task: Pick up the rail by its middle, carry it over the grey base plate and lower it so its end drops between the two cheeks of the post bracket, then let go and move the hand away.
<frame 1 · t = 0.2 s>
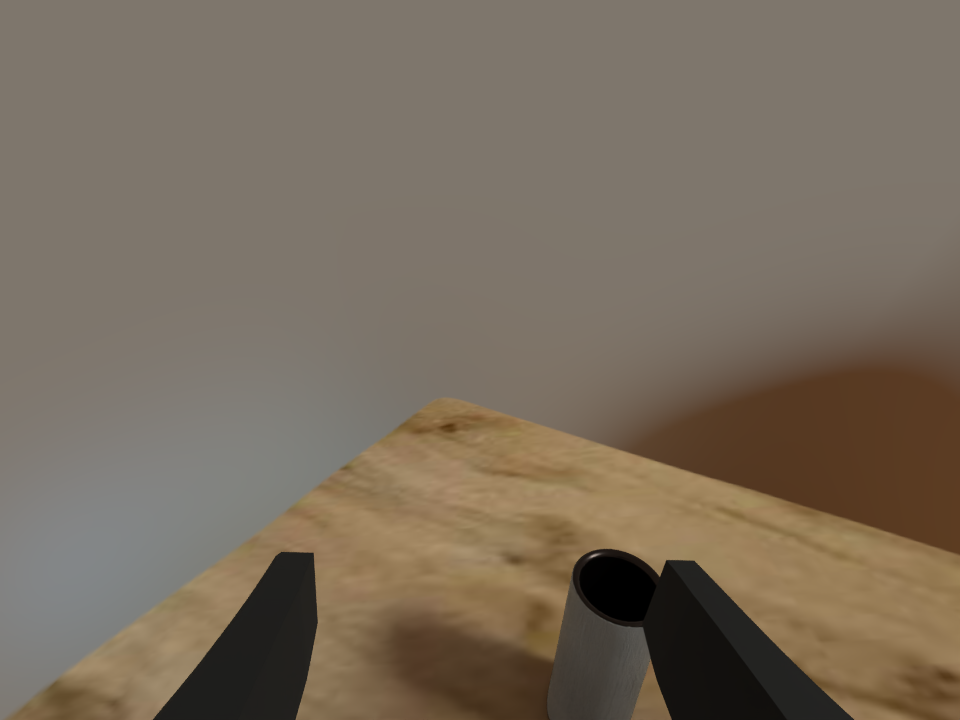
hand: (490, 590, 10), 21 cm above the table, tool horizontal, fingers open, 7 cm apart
planter: (585, 714, 29), on the table
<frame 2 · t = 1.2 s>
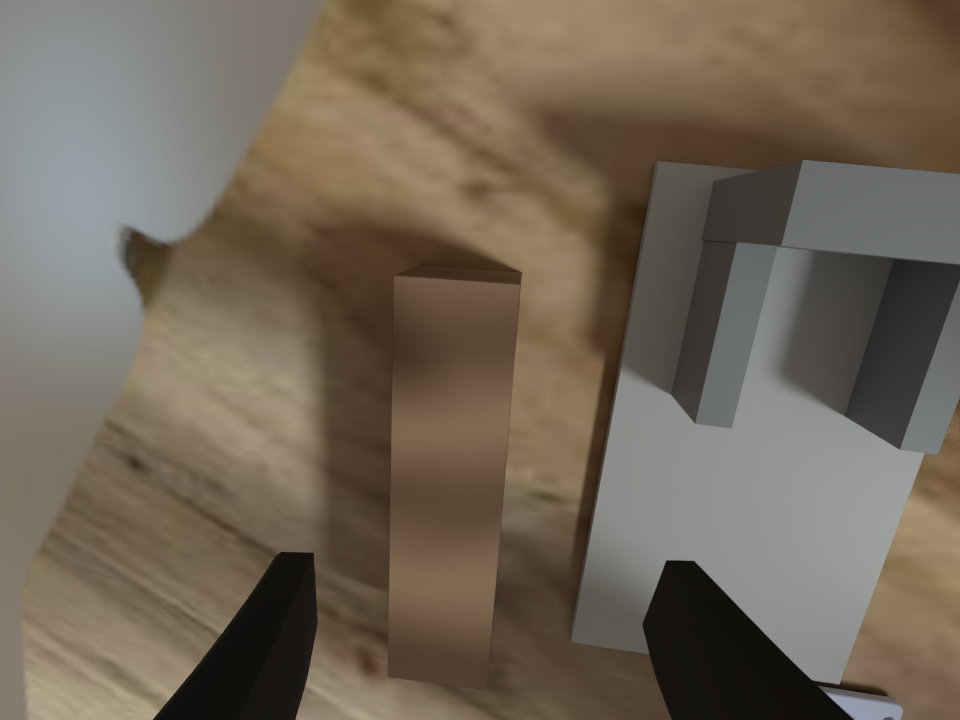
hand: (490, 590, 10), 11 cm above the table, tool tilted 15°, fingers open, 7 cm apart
post bracket: (754, 448, 21), on the table
rail: (461, 451, 22), on the table
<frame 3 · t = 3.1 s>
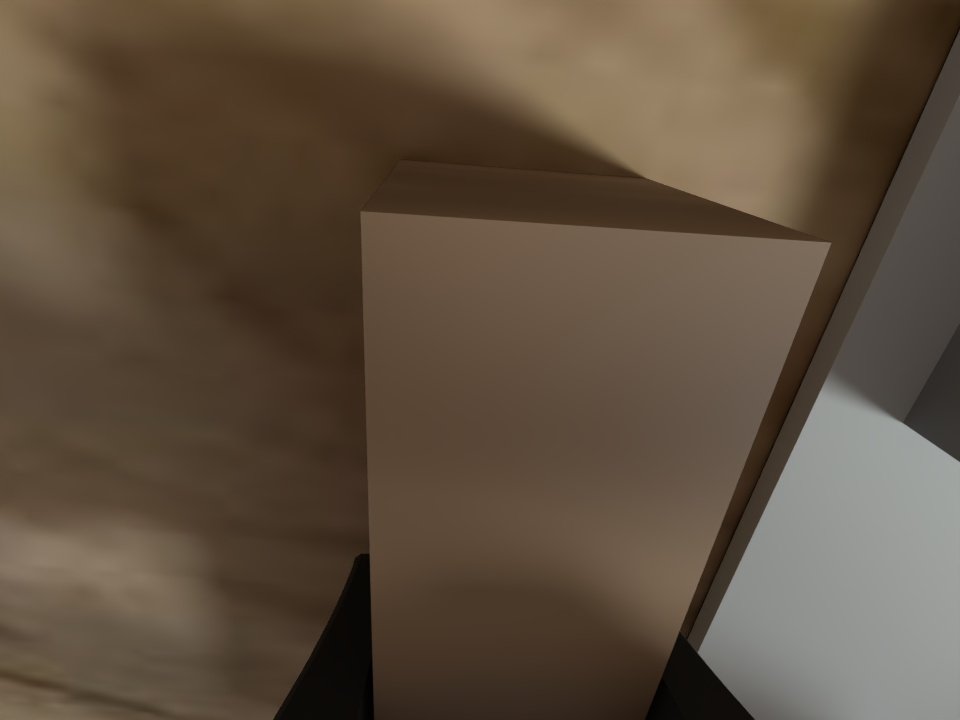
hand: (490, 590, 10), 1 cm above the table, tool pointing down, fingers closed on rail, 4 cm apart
rail: (484, 532, 12), on the table, touching gripper
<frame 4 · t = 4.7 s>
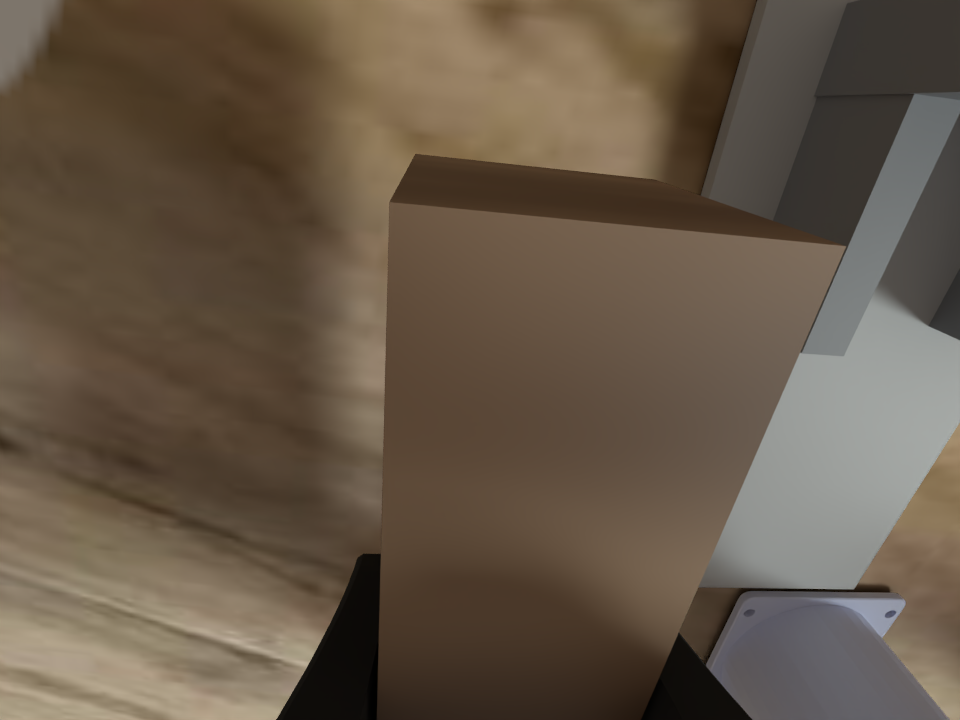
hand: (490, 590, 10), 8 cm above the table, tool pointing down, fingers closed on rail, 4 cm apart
post bracket: (817, 367, 17), on the table
rail: (484, 528, 12), point 6 cm above the table, touching gripper
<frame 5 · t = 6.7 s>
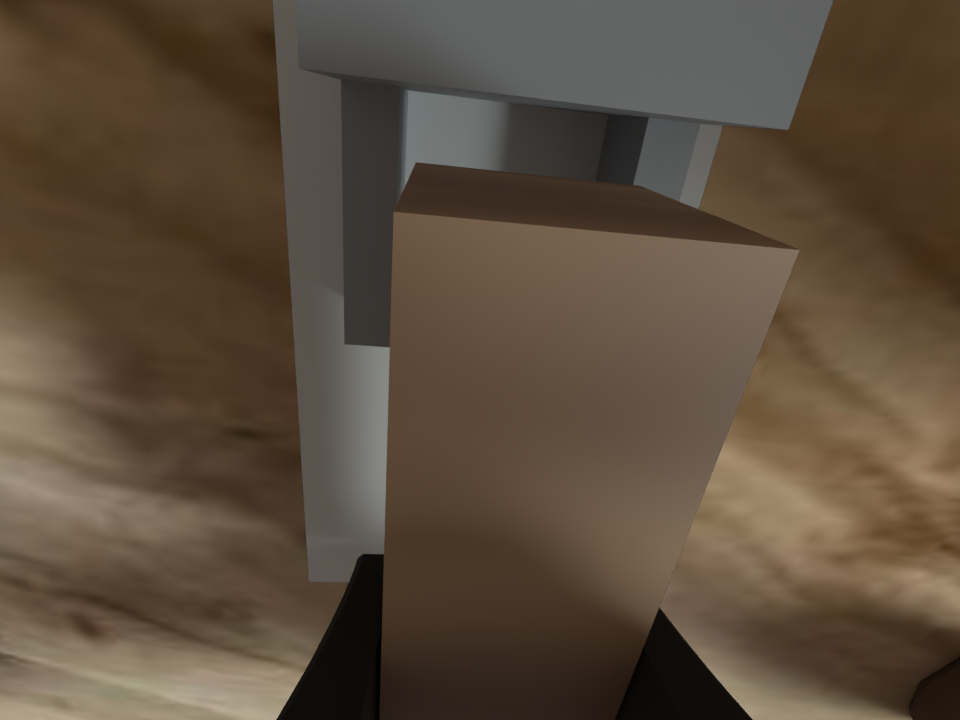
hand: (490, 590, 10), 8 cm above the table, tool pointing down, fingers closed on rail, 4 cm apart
post bracket: (477, 361, 17), on the table
rail: (482, 517, 12), point 6 cm above the table, touching gripper
when the fingers open (3 cm above the table, at t = 9.5 s): rail stays where it is, resting on post bracket.
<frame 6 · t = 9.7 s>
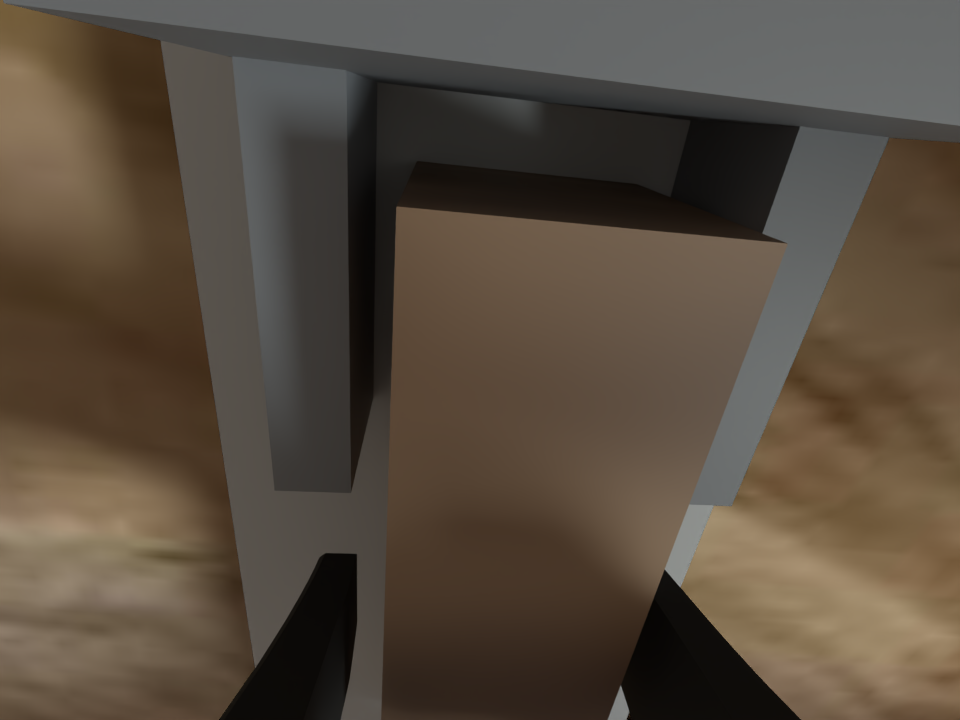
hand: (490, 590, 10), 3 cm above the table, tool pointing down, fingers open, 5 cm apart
post bracket: (485, 462, 12), on the table
rail: (481, 511, 12), resting on post bracket
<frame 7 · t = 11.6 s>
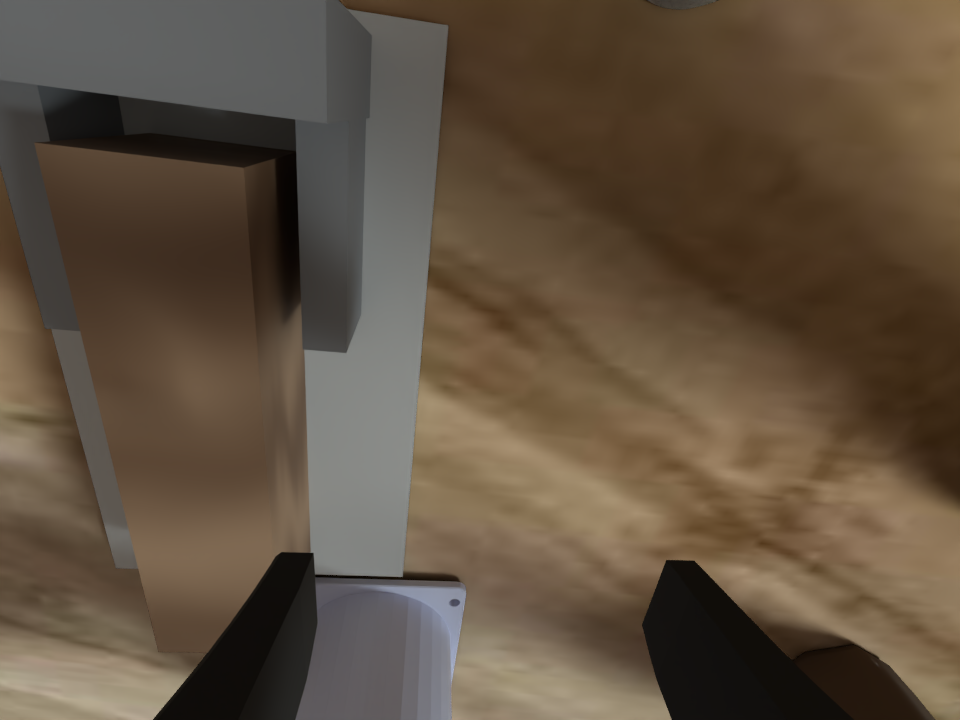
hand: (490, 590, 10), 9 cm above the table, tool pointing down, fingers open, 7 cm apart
post bracket: (249, 351, 18), on the table
beer bottle: (817, 679, 30), on the table
rail: (247, 386, 18), resting on post bracket
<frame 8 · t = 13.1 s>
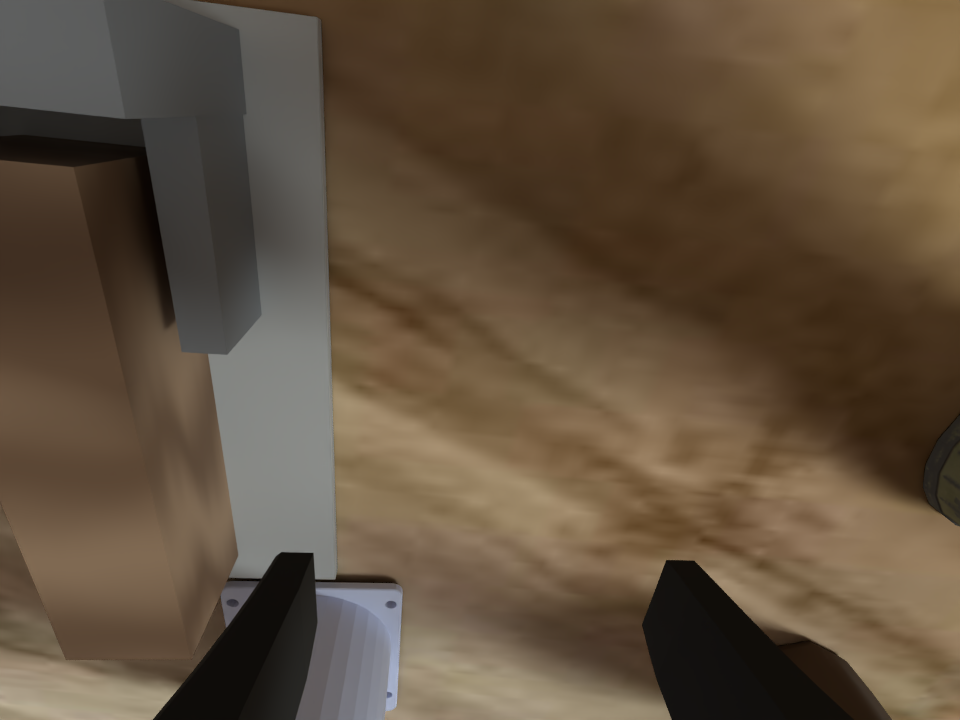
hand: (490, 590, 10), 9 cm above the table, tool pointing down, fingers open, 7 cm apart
post bracket: (155, 354, 17), on the table
beer bottle: (776, 676, 29), on the table
rail: (153, 390, 18), resting on post bracket
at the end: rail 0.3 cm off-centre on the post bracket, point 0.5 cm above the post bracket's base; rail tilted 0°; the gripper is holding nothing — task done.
